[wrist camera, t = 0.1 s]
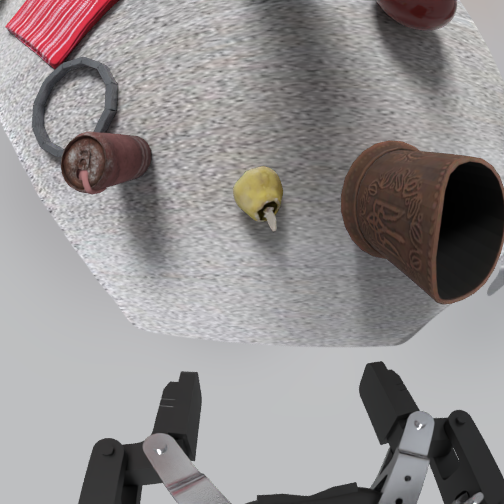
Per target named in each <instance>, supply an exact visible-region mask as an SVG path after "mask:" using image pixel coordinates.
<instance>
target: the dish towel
mask: <svg viewBox="0 0 504 504" xmlns="http://www.w3.org/2000/svg"><path fill="white" fill-rule="evenodd" d="M118 1H119V0H26V2H25V3H24V4H23V5H22V7H21V8H20V9H19V11H18V12H17V13H16V14H15V16H14V17H13V18H12V19H11V20H10V22H9V23H8V24H7V25H6V28H7V29H8V30H9V31H10V32H11V33H12V34H14V35H15V37H17V38H18V39H19V40H20V41H21V42H22V43H24V44H25V45H26V46H27V47H29V48H30V49H31V50H32V51H34V52H35V53H36V54H38V55H39V56H40V57H41V58H42V59H43V60H44V61H45V62H47V63H48V64H49V65H51V66H52V67H53V68H54V69H56V68H58V67H59V66H60V65H61V64H62V63H63V62H64V61H65V60H66V58H67V57H68V56H69V54H70V53H71V52H72V51H73V49H74V48H75V47H76V46H77V44H78V43H79V42H80V41H81V40H82V38H83V37H84V36H85V35H86V34H87V33H88V32H89V30H90V29H91V28H92V27H93V26H94V25H95V24H96V23H97V22H98V21H99V20H100V19H101V18H102V17H103V15H104V14H105V13H106V12H107V11H108V10H110V8H111V7H112V6H113V5H115V4H116V3H117V2H118Z"/></svg>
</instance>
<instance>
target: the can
mask: <svg viewBox="0 0 504 504" xmlns="http://www.w3.org/2000/svg"><path fill="white" fill-rule="evenodd" d="M150 163H151V149H150V147H149V145H148V143H147V142H146V141H145V140H144V139H142V138H140V137H138V136H131V135H121V134H111V133H99V132H85V133H82V134H79V135H78V136H76V137H75V138H74V139H73V140H72V141H70V142H69V144H68V145H67V146H66V148H65V150H64V152H63V155H62V159H61V170H62V175H63V177H64V180H65V181H66V182H67V184H68V185H69V186H70V187H72V188H73V189H75V190H77V191H79V192H83V193H89V194H97V193H101V192H102V191H104V190H105V189H107V187H110V186H113V185H116V184H120V183H123V182H126V181H129V180H133V179H136V178H138V177H140V176H142V175H143V174H144V173H145V172H146V171H147V169H148V167H149V166H150Z"/></svg>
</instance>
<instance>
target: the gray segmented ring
mask: <svg viewBox="0 0 504 504" xmlns="http://www.w3.org/2000/svg"><path fill="white" fill-rule="evenodd" d="M85 66H89V67H92V68H95V69H97V70H98V71H99V73H100V75H101V77H102V79H103V81H104V83H105V85H106V93H105V109H104V111H103V113H102V115H101V117H100V119H99V121H98V123H97V125H96V128H95V130H94V132H99V133H106V132H107V130H108V127H109V125H110V123H111V121H112V119H113V118H114V116H115V114H116V112H115V111H117V94H118V86H117V85H118V84H117V82H116V81H115V79H114V77H113V75H112V73H111V71H110V70H109V68H108V67H107V66H106V65H104V64H102V63H100V62H97V61H95V60H92V59H89V58H86V57H80V58H77V59H74V60H70V61H67V62H64V63H62V64H61V65H60V66H59V67H58V68H56V69H55V70H54V71H53V72H52V73H51V74H50V75H49V76H48V77H47V78H46V79H45V82H43V84H42V86H41V88H40V90H39V92H38V95H37V97H36V99H35V101H34V105H33V117H32V128H33V132H34V134H35V136H36V139H37V141H38V143H39V145H40V147H41V148H42V149H44V150H45V151H47V152H49V153H51V154H52V155H54V156H56V157H62V155H63V152H64V150H65V149H63V148H61V147H59V146H57V145H56V144H54V143H52V142H51V141H50V139H49V137H48V134H47V132H46V130H45V128H44V106H45V103H46V101H47V99H48V96H49V94H50V92H51V90H52V88H53V86H54V85H55V84H56V83H57V82H58V81H59V80H60V79H61V78H62V77H63V76H64V75H65V74H66V73H68V72H69V71H71V70H74V69H78V68H81V67H85Z"/></svg>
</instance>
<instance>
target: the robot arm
mask: <svg viewBox="0 0 504 504" xmlns="http://www.w3.org/2000/svg"><path fill="white" fill-rule="evenodd" d="M359 393H360V397H361V399H362V401H363V404H364V406H365V408H366V411H367V413H368V415H369V418H370V420H371V423H372V425H373V427H374V430H375V432H376V435H377V437H378V440H379V442H380V444H381V445H383V444H386V443H389V445H390V448H389V449H388V452H387V454H386V457H385V459H384V462H383V464H382V466H381V469H380V471H379V473H378V476H377V477H376V479H375V481H374V483H373V484H372V486H371V488H370V489H369V488H363V487H357V483H356V482H354V483H350V484H345V485H341V486H335V487H332V488H330V489H327V490H325V491H322V492H319V493H317V494H314V495H311V496H300V495H289V494H274V495H257V500H256V501H252V502H249V503H246V504H417V501H418V498H419V495H420V493H421V490H422V486H423V483H424V480H425V477H426V474H427V470H428V466H429V464H430V467H431V469H432V472H433V474H434V477H435V480H436V482H437V485H438V488H439V490H440V493H441V496H442V499H443V501H444V504H504V479H503V476H502V474H501V472H500V470H499V468H498V466H497V464H496V462H495V460H494V458H493V456H492V454H491V452H490V450H489V449H488V446H487V445H486V443H485V441H484V439H483V437H482V435H481V434H480V432H479V430H478V428H477V427H476V425H475V423H474V421H473V420H472V418H471V416H470V415H469V414H468V413H467V412H465V411H462V410H456V411H453V412H452V413H451V414H450V415H449V417H448V418H433V417H432V416H431V415H430V414H428V413H426V412H423V411H420V410H419V409H418V407H417V405H416V404H415V402H414V400H413V398H412V396H411V395H410V393H409V391H408V390H407V388H406V386H405V385H404V384H403V381H402V380H401V378H400V376H399V375H398V374H396V373H395V372H394V371H393V370H388V369H387V368H386V366H385V364H384V363H383V362H382V361H380V362H374V363H368V364H367V365H366V367H365V370H364V373H363V376H362V379H361V382H360V386H359ZM201 403H202V397H201V390H200V383H199V377H198V373H197V372H183V371H182V372H181V374H180V378H179V382H170V383H169V384H168V385H167V386H166V387H165V389H164V390H163V394H162V399H161V401H160V406H159V409H158V413H157V417H156V421H155V424H154V429H153V432H152V434H151V435H150V436H149V437H147V438H146V439H145V441H143V442H140V443H135V444H125V445H122V444H121V443H120V442H118V441H117V440H115V439H111V438H105V439H102V440H100V441H98V442H97V443H96V444H95V445H94V447H93V450H92V453H91V457H90V460H89V464H88V468H87V471H86V475H85V478H84V482H83V486H82V491H81V495H80V499H79V503H78V504H140V500H141V491H142V485H149V484H157V483H163V484H164V485H165V487H166V488H167V489H168V491H169V492H170V494H171V495H172V496H173V498H174V499H175V500H176V502H177V503H178V504H231V503H230V502H229V501H228V500H227V499H226V497H225V496H224V495H223V494H222V493H221V492H220V491H219V490H218V489H217V488H216V487H215V486H214V484H213V483H212V482H211V481H210V480H209V479H208V478H207V477H206V476H205V475H204V474H202V473H200V472H199V471H198V469H197V468H196V467H195V466H194V465H193V463H192V462H191V461H195V456H196V447H197V438H198V429H199V421H200V412H201ZM453 448H454V449H453ZM454 450H455V451H454ZM455 452H456V453H455ZM456 454H457V456H458V458H459V460H458V458H457V456H456Z"/></svg>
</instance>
